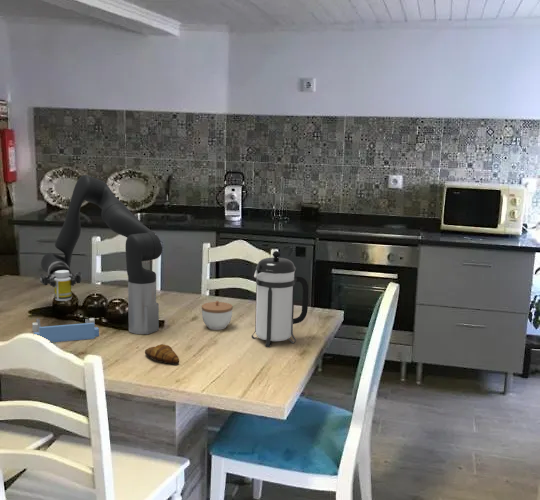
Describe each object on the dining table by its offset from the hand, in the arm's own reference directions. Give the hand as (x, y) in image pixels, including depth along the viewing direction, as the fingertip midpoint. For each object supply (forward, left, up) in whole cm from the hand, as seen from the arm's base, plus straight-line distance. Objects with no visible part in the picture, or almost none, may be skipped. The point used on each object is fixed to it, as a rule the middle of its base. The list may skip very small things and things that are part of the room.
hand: (63, 283), depth 216 cm
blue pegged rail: (+1, 0, -16) cm, 16 cm away
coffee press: (-64, -30, -17) cm, 73 cm away
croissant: (-44, +5, -17) cm, 48 cm away
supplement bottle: (+2, -2, -6) cm, 7 cm away
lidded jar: (-40, -31, -17) cm, 54 cm away
